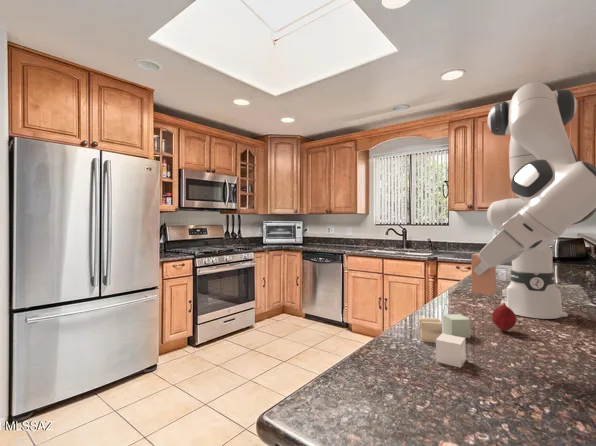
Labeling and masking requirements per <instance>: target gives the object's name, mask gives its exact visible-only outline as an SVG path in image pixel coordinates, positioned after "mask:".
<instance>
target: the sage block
mask: <svg viewBox="0 0 596 446" xmlns="http://www.w3.org/2000/svg"><path fill="white" fill-rule="evenodd" d="M442 333H443V334H447V335H453V336H458V337H463V338H465V339H471V319H470V318H468V317H466V316H465V315H463V314H461V313H457V314H451V313H450V314H442Z"/></svg>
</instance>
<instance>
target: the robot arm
mask: <svg viewBox="0 0 596 446" xmlns="http://www.w3.org/2000/svg"><path fill="white" fill-rule="evenodd" d="M577 103H578V102H577V99H576V96H575V95H574V92H572V90H570V89H566V88H563V89H555V90H554V91H552V90H551V88H550V87H549V85H547V84H545V83H541V82H529V83H526V84H525V85H521V87H519V88H518V89H517V90H516V91H515V92H514V94H513V95H512V97H511V99H509V100H507V101H504V100H503V101H500V102H497V103H495V104H494V105H493V106H491V108H490V109H489V112H488V116H487V118H486V119H487V127H488V128H489V130H490V132H491V134H493V135H494V136H506V135H510V139H509V146H508V147H509V148H508V162H509V163H508V165H509V166H508V167H509V179H510V180H511V183H510V188H511V191H512V193H514V195H515V196H516V197H517V198H516V197H515V198H505V199H502V200H501V199H500V200H496V201H493V202H492V203H490V205H489V206H488V208H487V211H486V219H487V221H488V223H489V225H490V226H491V227H493V228H494V229H495V230H497V231H498V233H496V234H495V235H494V236H493V237H492V239H490V241H488V242H487V244H485V246H484V247H483V248H482V249H481V250H480V251H479V252H478V253H479V254H478V258H479V259H480V260H481V263H480V264H479V265H478V266H477V267H476V268H475V269H474V272H475V273H476V274H477V275H482V274H483V273H484V272H486V271H487V270H488V269H489V268H492V267H494V266H496V268H497V267H498V266H500V265H503V264H505V263H508V262H509V263H510V262H511V270H510V273H509V276H510V277H509V278H510V282H509V284H508V285H507V287H506V288H504V289H502V290H501V293H502V294H501V295H502V297H504V298H503V299H501V301H500V306H501V303H505V304H506V306H507V307H508V308H510V309H511V310H512V311H513V312H514V314H515V316H516V315H517V316H521V317H524V318H525V317H526V318H532V319H543V320H545V319H546V320H548V319H549V320H552V319H559V318H563V317H565V318H567V317H569V315H568V312H567V311H564V310H563V307H562V297H561V296H562V294H561V290H560V288H557V287H556V286H555V283H556V281H555V280H556V276H555V272H553V271H554V270H553V266H554V263H553V250H552V248H551V247H550V245H551V244H552V243H553V242H554V241H556V240H557V239H559V238H560V237H561V236H562V235H563V234H564V233H565V232H566V230H567V229H571V228H575V227H576V226H577V225H578V224H580V223H583V222H585V221H587V220H589V219H590V218H591V217H593V215H594V214H595V213H596V166H595V165H593V164H592V163H590V162H588V161H583V160H578V157H577V154H576V152H575V150H574V147H573V145H572V143H571V141H570V139H569V136H568V133H567V131H566V128H565V126H566V125H567V124H569V122H571V121H572V120H573V119H574V115H575V113H576V111H577V109H578V108H577V107H578V104H577Z"/></svg>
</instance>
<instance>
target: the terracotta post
mask: <svg viewBox="0 0 596 446" xmlns="http://www.w3.org/2000/svg"><path fill="white" fill-rule="evenodd" d="M479 253H480V252H478V253H472V254H470V257H471V259H470V260H471V261H470V262H471V265H470V266H471V293H472V294H482V295H488V296H492V295H494V294H496V293H497V270H496V269H497V267H496V266H494V267H492V268H489V269H488V270H487V271H486V272H484V273H483V274H482V275H477V274H476V273H475V272H474V269H475V268H476V267H477V266H478V265H479V264H480V263H481V260H480V259H479V258H478V254H479Z"/></svg>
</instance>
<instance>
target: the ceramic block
mask: <svg viewBox="0 0 596 446" xmlns="http://www.w3.org/2000/svg"><path fill="white" fill-rule="evenodd" d="M466 343H467V342H466V338H463V337H458V336H453V335H447V334H445V333H442V334H441V335H440V336H439V337H438V338H437V339H436V343H435V362H436V363H439V364H443V365H448V366H451V367H452V366H453V367H457V368H460V369H461V368H462V367H463V365H464V364H465V362H466V359H467V358H466V357H467V356H466V353H467V352H466V351H467V350H466V347H467V346H466V345H467V344H466Z"/></svg>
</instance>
